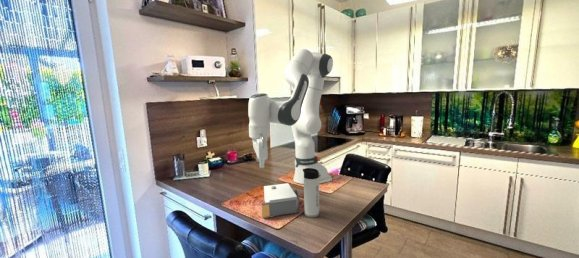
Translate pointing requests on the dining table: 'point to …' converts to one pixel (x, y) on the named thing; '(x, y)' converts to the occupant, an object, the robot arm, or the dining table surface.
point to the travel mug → (311, 192)
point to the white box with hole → (279, 192)
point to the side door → (279, 207)
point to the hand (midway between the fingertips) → (260, 164)
